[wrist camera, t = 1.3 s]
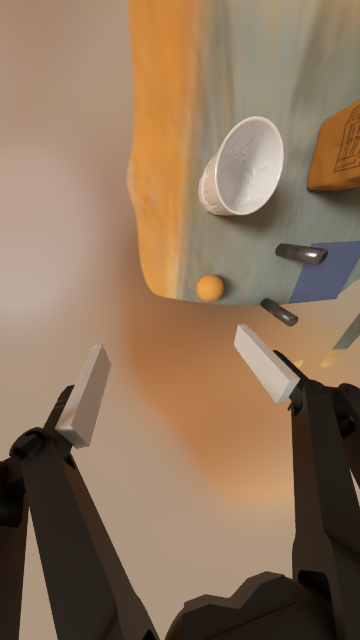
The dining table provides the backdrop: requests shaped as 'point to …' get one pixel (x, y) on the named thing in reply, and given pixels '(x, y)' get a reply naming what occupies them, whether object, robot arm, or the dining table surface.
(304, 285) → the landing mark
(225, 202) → the white cup
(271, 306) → the far post
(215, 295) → the ball
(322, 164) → the coffee package
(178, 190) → the dining table surface
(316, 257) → the near post
